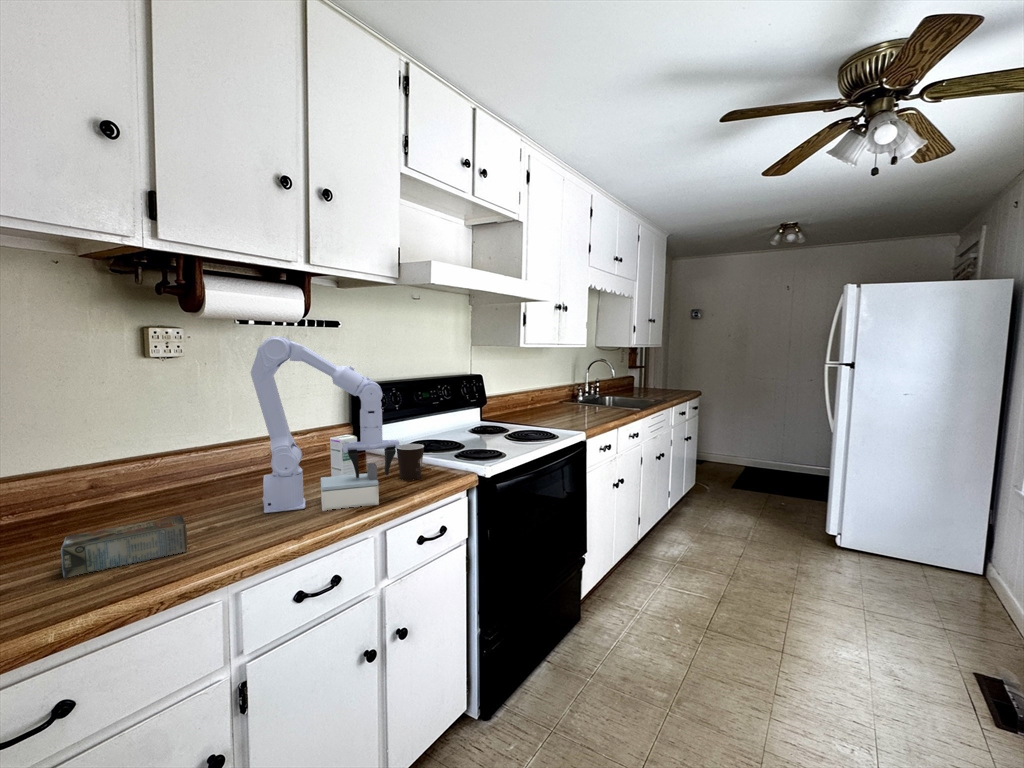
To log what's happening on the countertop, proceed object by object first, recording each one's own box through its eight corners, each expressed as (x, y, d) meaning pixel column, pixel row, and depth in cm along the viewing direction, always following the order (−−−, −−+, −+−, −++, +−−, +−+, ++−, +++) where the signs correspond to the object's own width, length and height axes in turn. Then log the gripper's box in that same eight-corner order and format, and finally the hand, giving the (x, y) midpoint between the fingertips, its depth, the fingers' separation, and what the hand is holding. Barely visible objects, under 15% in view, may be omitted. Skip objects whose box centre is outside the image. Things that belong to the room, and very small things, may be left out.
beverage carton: (66, 565, 94) (64, 531, 94) (185, 541, 106) (184, 511, 105) (61, 580, 88) (59, 545, 87) (189, 553, 100) (187, 522, 99)
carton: (322, 511, 124) (321, 491, 124) (321, 499, 134) (320, 481, 133) (378, 504, 130) (378, 486, 129) (374, 493, 139) (373, 476, 138)
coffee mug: (411, 482, 150) (410, 450, 149) (390, 478, 154) (390, 447, 154) (436, 474, 160) (435, 444, 159) (416, 470, 164) (415, 441, 163)
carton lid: (321, 490, 124) (321, 474, 124) (320, 480, 133) (320, 464, 133) (378, 485, 129) (378, 469, 129) (373, 475, 138) (373, 460, 138)
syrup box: (342, 487, 145) (341, 438, 144) (330, 483, 149) (329, 436, 147) (358, 482, 150) (357, 436, 148) (347, 479, 153) (346, 433, 152)
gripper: (343, 430, 126) (345, 482, 127) (401, 427, 131) (401, 476, 132) (342, 426, 132) (343, 475, 133) (396, 423, 138) (397, 470, 139)
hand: (372, 475), depth 133 cm, fingers open, 7 cm apart
